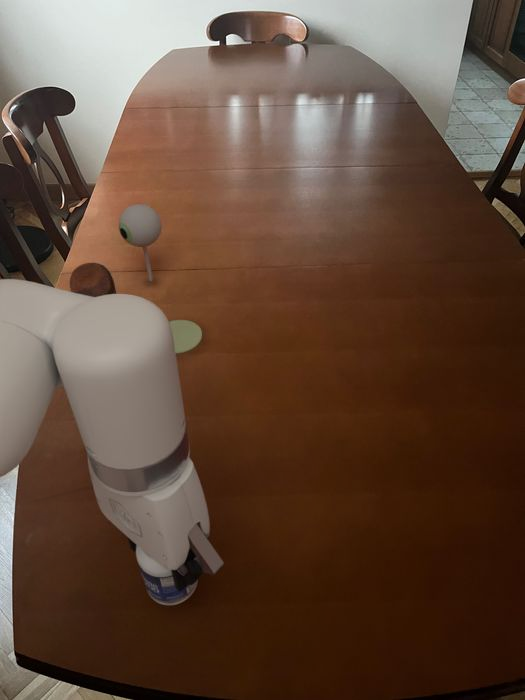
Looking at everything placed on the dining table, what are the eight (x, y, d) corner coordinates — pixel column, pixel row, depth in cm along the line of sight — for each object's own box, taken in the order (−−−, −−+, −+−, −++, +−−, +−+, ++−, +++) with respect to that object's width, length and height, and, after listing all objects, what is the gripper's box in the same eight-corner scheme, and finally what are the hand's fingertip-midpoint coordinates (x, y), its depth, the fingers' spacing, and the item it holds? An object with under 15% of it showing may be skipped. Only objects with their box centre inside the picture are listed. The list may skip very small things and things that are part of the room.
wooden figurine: (90, 346, 95) (60, 252, 83) (129, 338, 96) (106, 244, 84) (95, 398, 87) (62, 302, 74) (138, 389, 88) (113, 293, 75)
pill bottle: (138, 570, 61) (122, 520, 55) (186, 548, 63) (177, 497, 56) (156, 617, 58) (141, 570, 51) (206, 592, 60) (199, 543, 53)
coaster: (177, 361, 92) (176, 359, 92) (142, 340, 96) (142, 338, 95) (212, 334, 96) (212, 332, 96) (177, 314, 100) (177, 313, 100)
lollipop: (123, 281, 107) (105, 208, 97) (153, 264, 111) (139, 191, 101) (148, 297, 104) (132, 222, 94) (178, 278, 108) (166, 205, 97)
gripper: (30, 418, 47) (80, 535, 59) (183, 545, 39) (204, 649, 51) (104, 366, 51) (137, 485, 63) (256, 471, 43) (259, 584, 55)
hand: (166, 557), depth 57 cm, fingers closed on pill bottle, 5 cm apart
